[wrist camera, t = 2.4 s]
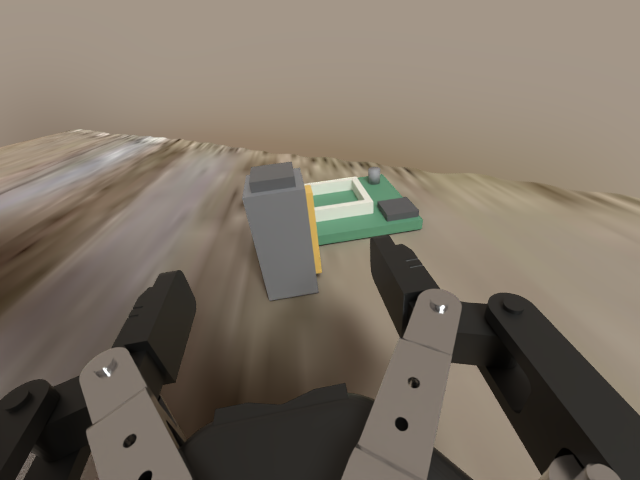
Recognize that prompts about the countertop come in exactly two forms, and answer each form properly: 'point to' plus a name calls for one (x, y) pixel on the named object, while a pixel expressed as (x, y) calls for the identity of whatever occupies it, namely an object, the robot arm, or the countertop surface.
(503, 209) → the countertop surface
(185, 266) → the countertop surface
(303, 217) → the plug
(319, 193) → the mount board
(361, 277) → the countertop surface
